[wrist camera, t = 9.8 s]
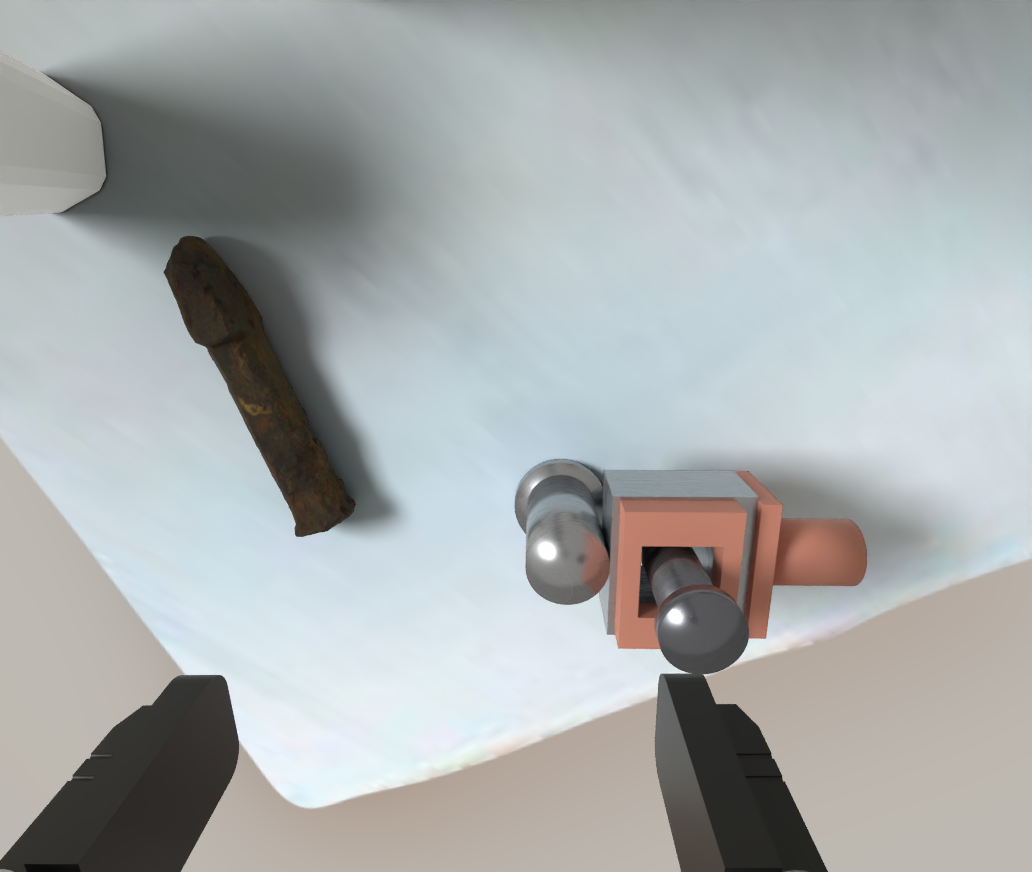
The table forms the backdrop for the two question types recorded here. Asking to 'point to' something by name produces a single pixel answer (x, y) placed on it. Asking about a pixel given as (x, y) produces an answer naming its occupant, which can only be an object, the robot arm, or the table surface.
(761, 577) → the bracket
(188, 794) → the robot arm
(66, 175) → the cup
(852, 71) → the table surface
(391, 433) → the table surface
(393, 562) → the table surface
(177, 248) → the hand tool
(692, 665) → the steel pin
